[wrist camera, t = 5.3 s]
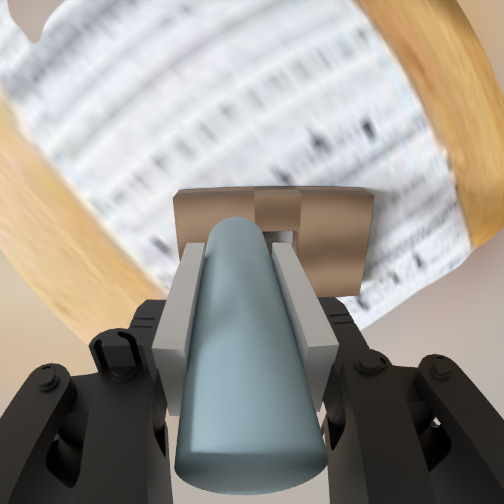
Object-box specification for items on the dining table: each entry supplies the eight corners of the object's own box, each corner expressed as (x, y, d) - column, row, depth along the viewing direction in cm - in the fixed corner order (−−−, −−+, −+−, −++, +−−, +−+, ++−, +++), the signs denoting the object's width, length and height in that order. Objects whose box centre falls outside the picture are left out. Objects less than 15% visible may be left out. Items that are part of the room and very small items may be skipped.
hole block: (179, 189, 30) (172, 198, 27) (360, 187, 31) (374, 195, 28) (189, 287, 35) (185, 303, 32) (349, 280, 36) (359, 295, 33)
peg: (207, 215, 15) (162, 435, 4) (267, 217, 15) (347, 430, 4) (207, 269, 16) (184, 493, 5) (262, 270, 16) (310, 489, 5)
